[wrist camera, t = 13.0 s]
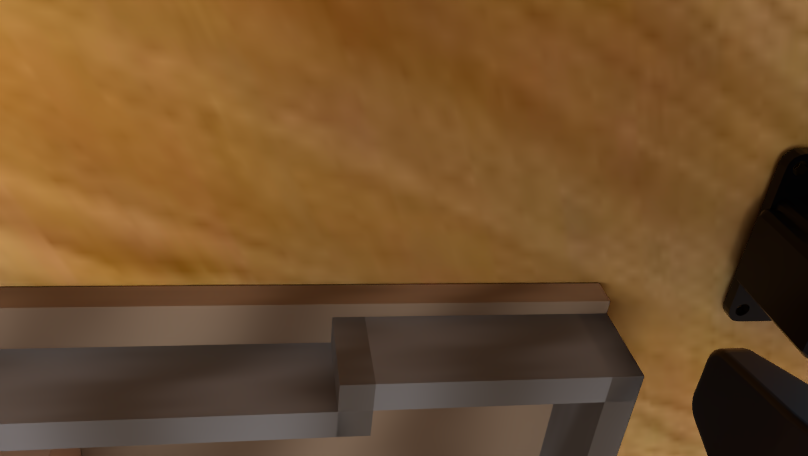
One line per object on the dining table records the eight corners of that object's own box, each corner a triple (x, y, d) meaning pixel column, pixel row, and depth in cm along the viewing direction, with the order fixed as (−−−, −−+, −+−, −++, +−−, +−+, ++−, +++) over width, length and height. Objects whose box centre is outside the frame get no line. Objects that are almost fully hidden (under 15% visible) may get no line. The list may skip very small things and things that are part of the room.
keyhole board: (598, 283, 26) (648, 363, 22) (542, 484, 31) (575, 574, 27) (-126, 288, 22) (-199, 385, 18) (-52, 517, 27) (-99, 627, 23)
